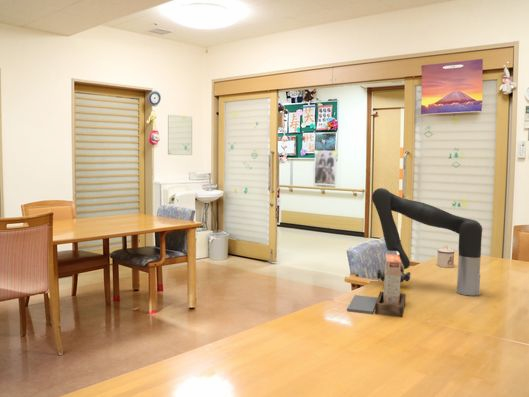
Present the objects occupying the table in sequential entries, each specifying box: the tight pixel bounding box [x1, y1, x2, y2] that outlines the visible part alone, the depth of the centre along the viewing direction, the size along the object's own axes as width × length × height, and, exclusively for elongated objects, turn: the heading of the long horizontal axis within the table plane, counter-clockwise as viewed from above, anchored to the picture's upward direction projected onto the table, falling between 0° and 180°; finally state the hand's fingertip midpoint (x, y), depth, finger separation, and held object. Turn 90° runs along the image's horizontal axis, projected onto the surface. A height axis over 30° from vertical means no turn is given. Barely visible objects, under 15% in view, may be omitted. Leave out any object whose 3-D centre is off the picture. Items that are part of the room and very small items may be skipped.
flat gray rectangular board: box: [346, 294, 378, 315], centre depth 201 cm, size 10×20×1 cm, turn 161°
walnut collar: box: [374, 291, 406, 318], centre depth 197 cm, size 10×18×4 cm, turn 161°
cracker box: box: [382, 253, 402, 306], centre depth 196 cm, size 14×6×21 cm, turn 168°
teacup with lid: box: [436, 245, 455, 269], centre depth 275 cm, size 12×9×12 cm
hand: (391, 279), depth 197 cm, fingers closed on cracker box, 6 cm apart
